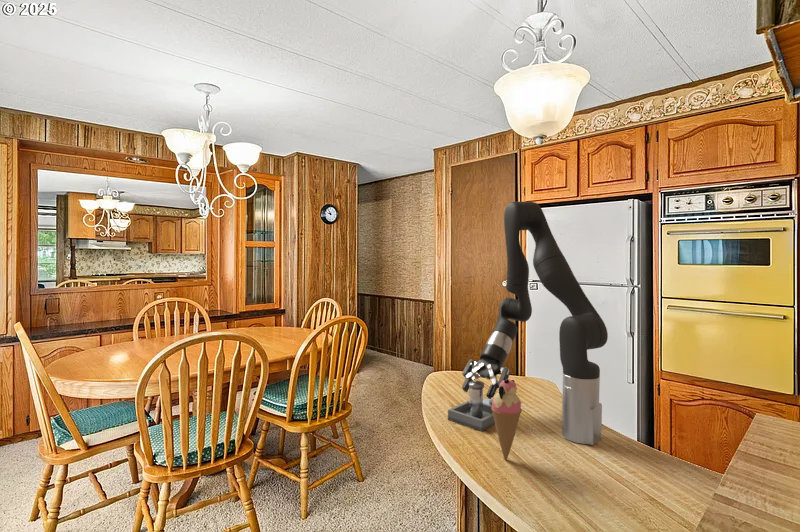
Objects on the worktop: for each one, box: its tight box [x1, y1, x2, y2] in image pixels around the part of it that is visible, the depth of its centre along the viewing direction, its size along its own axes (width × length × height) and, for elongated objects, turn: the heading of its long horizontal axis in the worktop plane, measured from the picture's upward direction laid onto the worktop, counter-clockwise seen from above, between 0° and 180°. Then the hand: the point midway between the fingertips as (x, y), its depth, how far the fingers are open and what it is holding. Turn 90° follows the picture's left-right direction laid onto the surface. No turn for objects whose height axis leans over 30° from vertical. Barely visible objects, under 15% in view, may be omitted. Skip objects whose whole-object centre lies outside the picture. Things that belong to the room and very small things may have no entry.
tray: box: [447, 400, 495, 432], centre depth 127 cm, size 12×12×3 cm
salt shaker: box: [468, 380, 485, 418], centre depth 127 cm, size 5×5×10 cm
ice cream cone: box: [491, 378, 523, 461], centre depth 102 cm, size 8×7×20 cm
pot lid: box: [483, 398, 493, 406], centre depth 135 cm, size 10×10×6 cm
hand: (476, 394), depth 126 cm, fingers open, 8 cm apart
